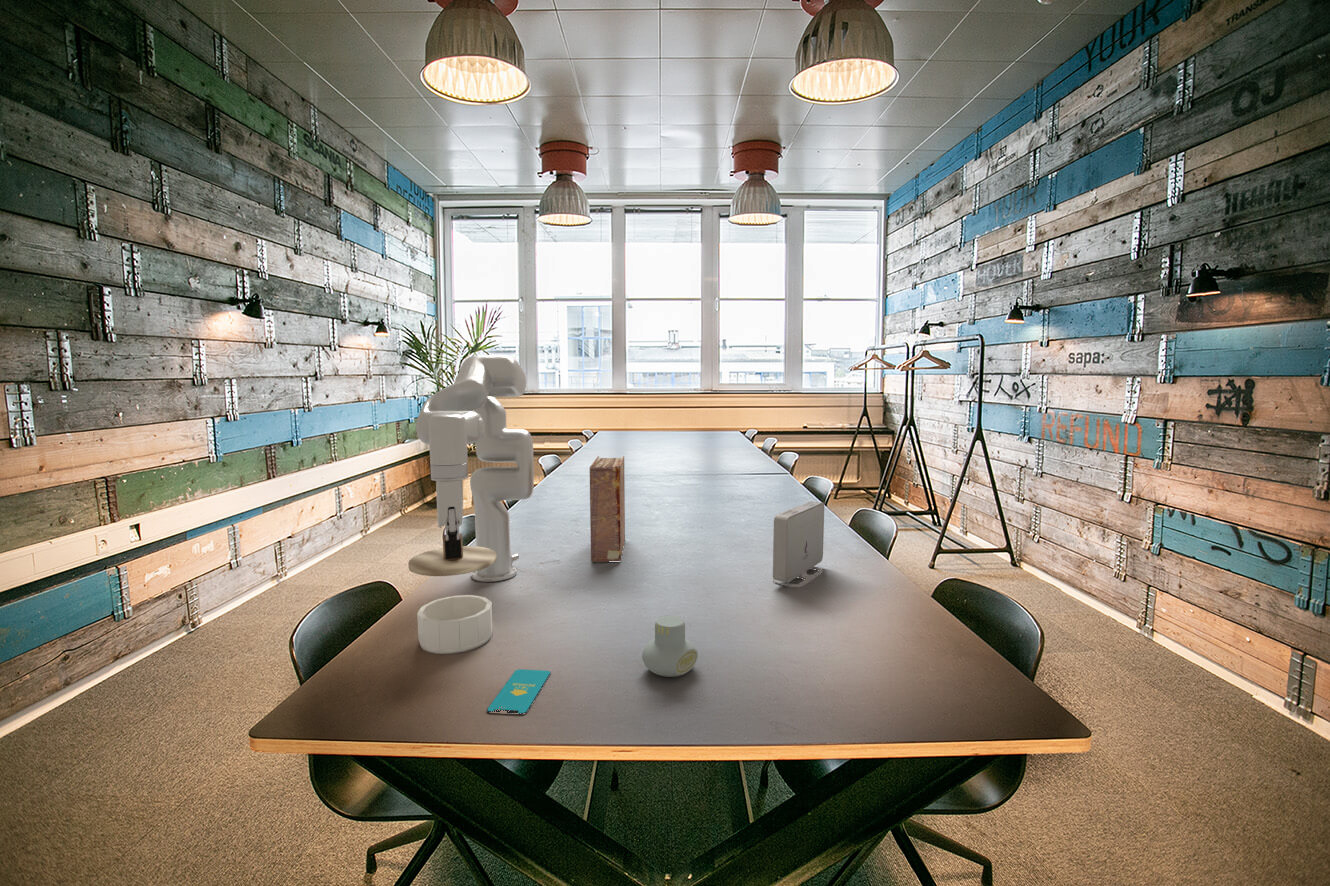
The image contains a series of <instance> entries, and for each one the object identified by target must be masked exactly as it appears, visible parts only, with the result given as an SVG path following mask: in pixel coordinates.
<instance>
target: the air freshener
mask: <svg viewBox="0 0 1330 886" xmlns="http://www.w3.org/2000/svg"><path fill="white" fill-rule="evenodd" d="M698 657H699V653H698V650H697V647H696V646H695V644H693V643H692V642H691V641H690V640H689V639H687V638H686V622H685V620H684V619H683V618H681V617H680V616H676V615H666V616H665V615H664V616H661V617H659V618H657V619H656V620H655V622H654V638H653V639H651V640H650V641H649V642H648V643H646V645H645V647H644V648H643V649H642V653H641V659H642V662H643V665H644V666H645V667H646V669H647V670H649V671H650V672H652V673H653V674H655V675H658V676H661V677H667V678H674V677H676V678H677V677H680V675H681V676H682V675H685V674H688V672H690V671H691V670H692V669H693V667H695V665H696V663H697V661H698Z"/></svg>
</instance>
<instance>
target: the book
mask: <svg viewBox="0 0 1330 886" xmlns="http://www.w3.org/2000/svg"><path fill="white" fill-rule="evenodd" d="M625 482H626V481H625V456H624V455H623V456H622V457H600V456H598V455H597V457H596V458H595V460H594V461H593V462H592V463H591V465H590V466H589V507H590V508H589V510H590V511H589V513H590V514H589V515H590V517H589V518H590V519H589V522H590V523H589V524H590V563H591V562H609V561H621V562H622V558H621V556H622V557H623V553H622V551H624V548H623V546H624V547H625V544H624V541H625V542H626V513H625V512H626V508H625V507H626V503H625V501H626V499H625V498H626V497H625V495H626V494H625V492H626V491H625V488H626V487H625V486H626V485H625Z"/></svg>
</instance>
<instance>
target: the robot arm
mask: <svg viewBox="0 0 1330 886" xmlns="http://www.w3.org/2000/svg"><path fill="white" fill-rule="evenodd" d="M526 388H527V378H526V372H525V371H524V369H523V367H522V366H521V364H520V363H519V362H518V360H516V359H515V358H514V357H512V356H509V355H504V354H503V355H501V354H498V355H497V354H496V355H488V354H487V355H486V354H482V355H481V354H480V355H478V354H477V355H472V356H468V357H467V358H465V359H464V361H463V362H462V364H461V366H460V369H459V370H458V373H457V376H456V378H455V380H454V383H453V384H450V385H448V386H446V387H445V388H443V389H441V390H439V391H437V392H436V393H433V394H432V395H431V396H430V397H428V398H427V399H426V400H425V401H424V403H423V405H422V407H421V409H420V411H419V414H418V415H417V419H416V426H415V432H416V435H417V438H418V439H419V441H421V442H422V443H423V444H426V445H429V462H430V464H429V465H430V480H431V481H435V483H436V484H435V485H436V489H435V490H436V491H435V493H436V496H435V497H436V513H437V514H436V515H437V516H436V517H437V518H436V519H437V527H438V528H439V529H440V528H442V527H444V529H445V534H446V540H445V558H446V559H454V558H461V539H459V533H460V527H461V526H462V525H463V516H464V515H463V514H464V485H463V483H464V481H463V480H466V479H468V478H469V463H468V462H469V459H468V457H469V456H468V445H472V444H473V445H474V444H475V454H476V457H477V459H478V460H479V461H482V462H485V463H515V464H516V466H486V467H481V468H477V469H475V470H474V471H473V472H472V474H471V476H470V479H469V480H470V481H469V486H470V491H471V495H472V502H473V508H474V520H475V521H474V526H475V546H477V547H485V548H489V549H491V550H493V551H495V552H496V556H497V559H496V562H495V563H494V564H492V565H491V566H489V567H487V568H484V569H482V570H479V571H475V572H471V578H472V579H473V580H475V581H477V582H484V583H487V582H488V583H489V582H491V583H493V582H501V581H505V580H508V579H510V578H511V579H512V578H513V577H515V576H516V575H517V571H518V570H517V568H516V567H515V566H514V565H513V563H514V562H515V561H518V560H519V558H520V557H519V554H518V553H513V554H512V551H511V526H510V525H511V524H510V523H511V522H510V519H511V518H510V514H509V510H508V509H507V508H506V507H505V505H504V504H503V503H502V502H503V501H523V500H524V501H525V500H528V499H530V498H531V497H532V496H533V493H534V489H535V488H534V487H535V486H534V483H535V482H534V481H535V479H534V478H535V476H534V473H535V472H534V467H535V465H534V441H533V438H532V435H531V433H530V432H529V430H526V429H524V428H507V411H506V409H505V408H504V406H503V405H502V403H501V402H500V401H499V400H498V399H497V398H518V397H522V396H523V395H524V393H525V391H526ZM448 536H449V538H448ZM448 539H449V540H448Z"/></svg>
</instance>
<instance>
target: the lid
mask: <svg viewBox="0 0 1330 886" xmlns="http://www.w3.org/2000/svg"><path fill="white" fill-rule="evenodd" d="M448 538H449V536H448ZM459 539H461V558H454V559H446V558H445V540H446V533H445V534H444V535H442V548H436V549H432V550H427V551H424V552H421V553H419V554H416V555H415V556H413V557H412V558H410V559H409V560H408V570H409V571H410V572H411V573H413V574H416V575H420V576H426V577H449V576H450V577H451V576H452V577H453V576H460V575H465V574H472V572H475V571H479V570H482V569H484V568H487V567H489V566H491V565H492V564H494V563H495V562H496V559H497V556H496V552H495V551H493V550H491V549H489V548H485V547H477V546H476V545H475V546H473V545H464V544H463V543H464V542H463V534H462V533H460V532H459ZM448 540H449V539H448ZM463 545H464V546H463Z"/></svg>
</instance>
